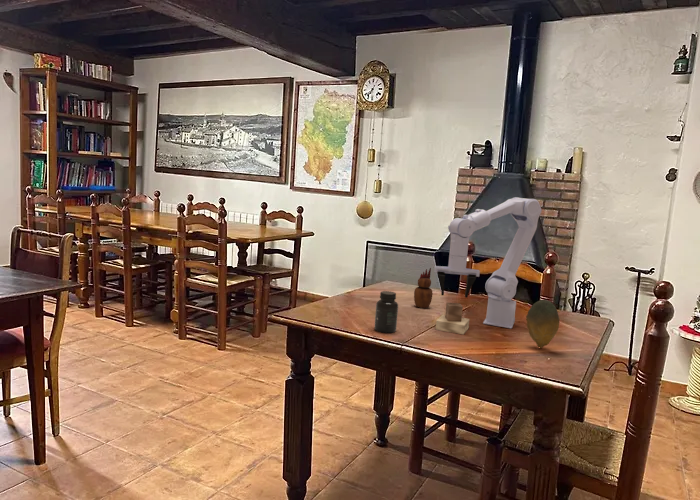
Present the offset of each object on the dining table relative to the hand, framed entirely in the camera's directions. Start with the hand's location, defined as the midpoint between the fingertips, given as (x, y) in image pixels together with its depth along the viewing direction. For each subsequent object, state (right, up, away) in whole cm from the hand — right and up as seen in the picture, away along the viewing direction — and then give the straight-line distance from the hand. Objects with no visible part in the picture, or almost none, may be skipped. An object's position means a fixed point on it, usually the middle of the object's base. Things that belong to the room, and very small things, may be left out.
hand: (454, 295), depth 174 cm
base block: (-1, -11, -2) cm, 11 cm away
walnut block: (-1, -8, -2) cm, 8 cm away
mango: (+22, -14, -17) cm, 31 cm away
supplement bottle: (-23, -10, -9) cm, 27 cm away
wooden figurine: (-7, -7, +24) cm, 26 cm away
